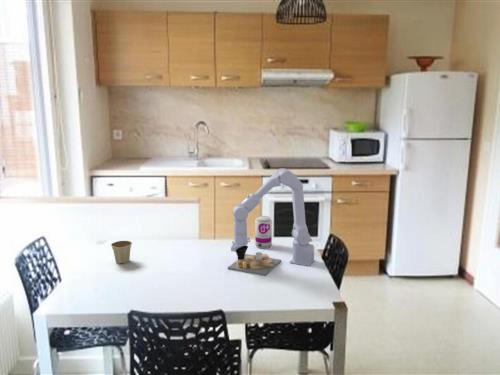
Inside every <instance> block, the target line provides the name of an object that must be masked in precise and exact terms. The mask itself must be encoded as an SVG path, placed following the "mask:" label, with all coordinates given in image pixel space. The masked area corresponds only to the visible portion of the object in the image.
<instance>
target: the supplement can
mask: <svg viewBox="0 0 500 375" xmlns="http://www.w3.org/2000/svg"><path fill="white" fill-rule="evenodd" d="M254 222H255V223H254V228H255V230H254V234H255V236H254V237H255V241H254V242H255V244H254V245H255V247H257V248H258V249H269V248H271V246H272V245H273V244H272V243H273V242H272V240H273V237H272V236H273V235H272V234H273V232H272V231H273V227H272V225H273V224H272V218H271V217H270V216H268V215H261V216H260V215H259V216H256V219H255V221H254Z"/></svg>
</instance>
